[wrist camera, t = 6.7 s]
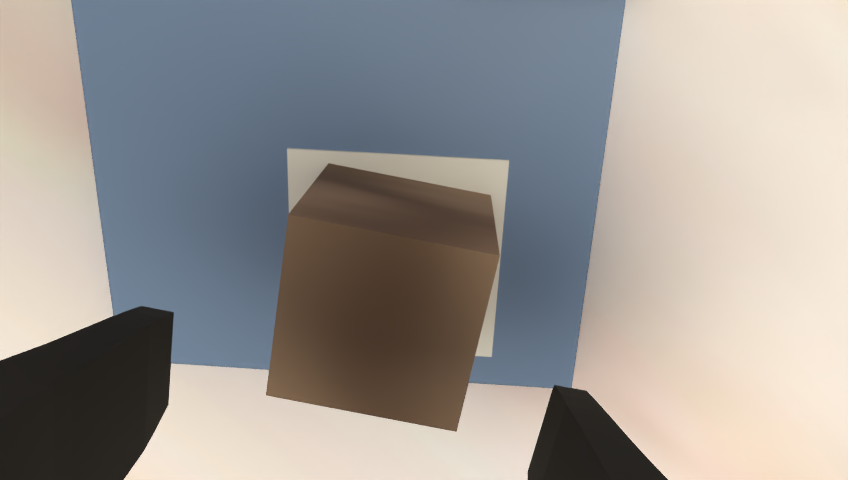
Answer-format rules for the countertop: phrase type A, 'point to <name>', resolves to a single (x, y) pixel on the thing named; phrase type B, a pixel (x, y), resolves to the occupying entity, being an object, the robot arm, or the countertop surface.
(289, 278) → the walnut block
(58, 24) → the countertop surface
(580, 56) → the blueprint board
